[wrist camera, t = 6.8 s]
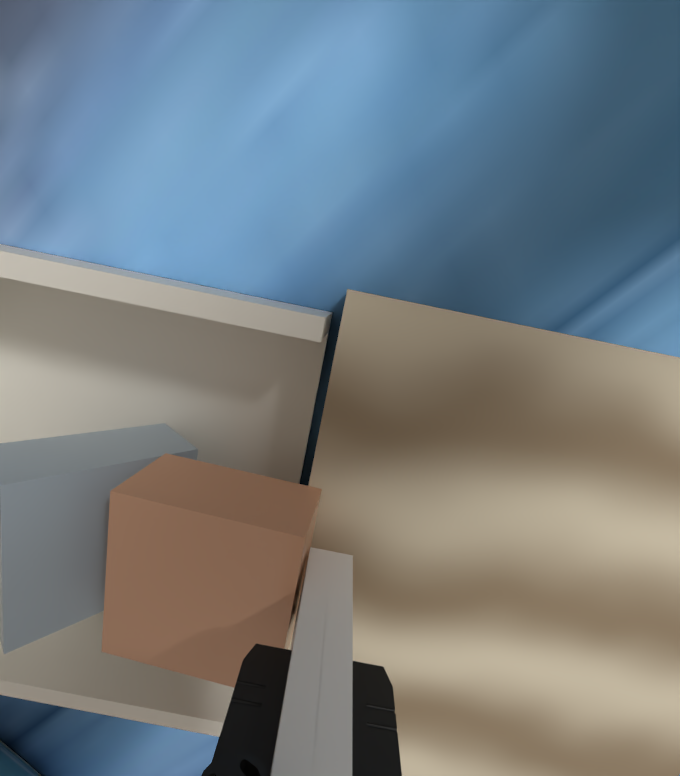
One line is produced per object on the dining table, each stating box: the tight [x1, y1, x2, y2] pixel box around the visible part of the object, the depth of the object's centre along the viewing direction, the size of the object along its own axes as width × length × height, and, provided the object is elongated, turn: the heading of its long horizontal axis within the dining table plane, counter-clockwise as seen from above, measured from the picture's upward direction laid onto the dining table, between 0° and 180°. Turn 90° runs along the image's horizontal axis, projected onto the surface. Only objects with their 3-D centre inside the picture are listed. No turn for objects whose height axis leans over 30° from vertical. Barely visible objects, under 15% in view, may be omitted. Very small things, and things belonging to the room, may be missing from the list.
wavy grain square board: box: [289, 289, 680, 776], centre depth 17 cm, size 20×18×4 cm
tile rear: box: [0, 423, 198, 654], centre depth 15 cm, size 6×6×3 cm
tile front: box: [101, 453, 322, 688], centre depth 13 cm, size 6×6×3 cm
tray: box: [0, 244, 333, 737], centre depth 16 cm, size 18×16×4 cm
